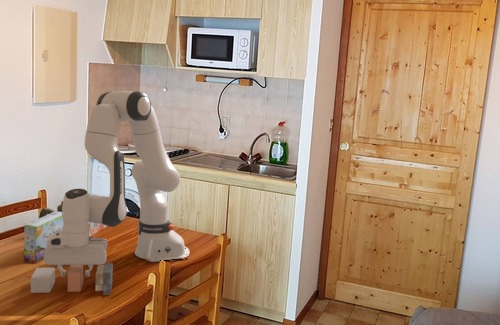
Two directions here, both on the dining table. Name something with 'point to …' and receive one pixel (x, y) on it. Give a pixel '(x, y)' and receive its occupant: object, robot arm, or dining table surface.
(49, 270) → the gray block
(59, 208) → the teapot
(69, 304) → the dining table surface
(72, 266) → the pink rectangular block
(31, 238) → the snack box
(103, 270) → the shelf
